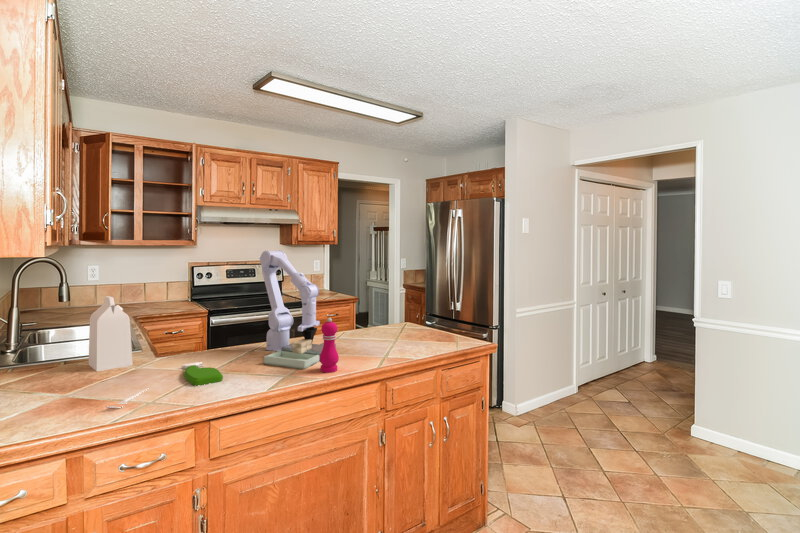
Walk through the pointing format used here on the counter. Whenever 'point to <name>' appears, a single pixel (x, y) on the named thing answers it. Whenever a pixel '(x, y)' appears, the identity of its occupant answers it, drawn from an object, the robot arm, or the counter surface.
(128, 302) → the counter surface
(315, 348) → the slotted plate
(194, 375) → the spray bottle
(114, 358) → the milk
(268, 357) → the tray
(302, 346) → the birch block front
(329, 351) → the pepper mill
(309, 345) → the birch block rear
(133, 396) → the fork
